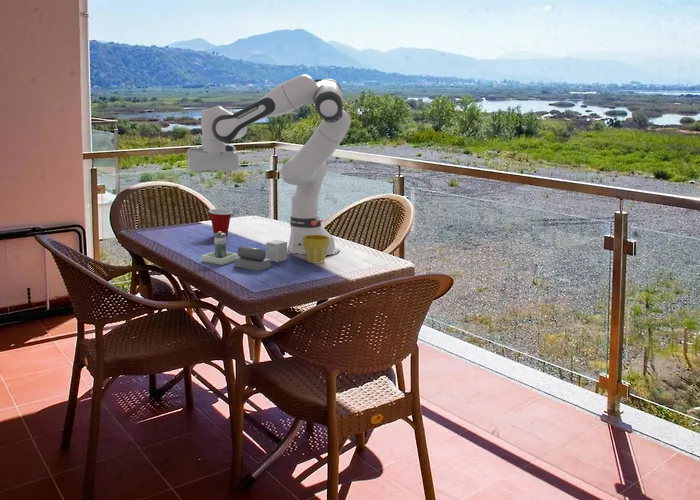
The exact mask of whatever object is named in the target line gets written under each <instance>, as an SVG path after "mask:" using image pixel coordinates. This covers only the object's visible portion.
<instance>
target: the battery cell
mask: <svg viewBox="0 0 700 500" xmlns="http://www.w3.org/2000/svg"><path fill="white" fill-rule="evenodd" d="M213 236H214V237H213V239H214V240H213V241H214V242H213V243H214V244H213V245H214V252H215V257H217V258H224V257H226V252H227V237H226V233H222V232H221V231H219V232H218V233H215V234H214V233H213Z"/></svg>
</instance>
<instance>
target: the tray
mask: <svg viewBox="0 0 700 500" xmlns="http://www.w3.org/2000/svg"><path fill="white" fill-rule="evenodd" d="M238 257H239V256H238V252H237V253H236V252H230V251H226V257H224V258H217V257H215V251H212V252H209V253H205V254H202V255H201V262H202V263H207V264H212V265H213V264H214V265H219V266H223V265H227V264H230V263H234V259H235V258H238Z"/></svg>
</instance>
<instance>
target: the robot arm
mask: <svg viewBox="0 0 700 500" xmlns="http://www.w3.org/2000/svg"><path fill="white" fill-rule="evenodd" d="M343 102H344V95H343V93H342V87H341V85H340V84H339V83H338V82H337V81H336V80H334V79H332V78H323V79H321V78H320V79H315V80H314V78H312V77H311V76H310V75H308V74H302V75H298V76H295V77H293V78H291V79H288V80H285V81H284V82H283V83H280V84H279V85H277V86H276V87H274V88H273V89H271V90H270V91H269V92H268V93H267V94H265V95H264V96H263V97H261V98H259V100H257V101H255V102H253V103H252V104H250V105H249V106H247V107H244V108H242V109H240V110H239V111H237V112H235V113H233V112H231V111H228V110H226V109H225V108H223V107H222V106H221V105H211V106H206V107H204V108H203V109H202V112H201V118H200V119H201V120H200V127H201V132H202V133H201V134H202V135H201V146H197V147H193V146H192V147H190V148H188V149H187V151H186V157H187V158H188V159H187V168H188V170H189V171H191V172H196V174H197V175H198V177H199V182H200V183H205V177H203V176H202V175H201V174H202V171H207V172H208V171H225V172H226V174H225V176H223V178H222V179H223V182H228V179H229V178H228V177H229V176H230V174H231V171H237V170H238V169H239V168H240V163H239V162H240V161H239V156H238V154H237V152H236V150H237V148H236V146H235V145H232V144H229V142H230V141H234V140H239V139H242V138H243V137H245V136H246V134H247V132H248V129H249V128H248V126H250V125H252V124H255V123H256V122H258V121H260V120H263V119H267V118H271V117H279V116H282V115H286V114H290V113H291V112H294V111H296V110H297V109H299V108H301V107H303V106H304V105H309V104H311V105H312V104H313V105H314V109H315V110H316V112H317V114H318V116H320V117H321V118H322V120H321V121H320V122H319V124H318V126H317V127H316V129H315V130H314V131H313V133H312V135H311V136H310V138H308V140H307V141H306V143H304V145H302V146H301V148H299V150H298V151H297V152H296V153H295V154H294V155H293V156H292V157H291V158H290V159H288V160H286V162H284V163H283V165H282V166H281V169H280V175H281V178H282V179H283V181H284V182H285V183H286V184H288V185H293V186H296V188H295V192H294V193H293V194H292V197H291V199H290V200H291V201H290V202H291V204H290V205H291V208H290V209H291V210H290V211H291V216H290V221H289V223H290V236H289V243H288V245H287V251H289V253H290V254H293V253H298V254H297V255H303V254H306V252H305V246H303V237H304V236H306V235H325V236H328V237H329V246H328V247H327V250H326V254H325V255H330V254H333V253H336V252H339V251H340V252H341V249H340V248H339V247H336V246H335V245H336V244H335V239H334V236H333V235H332V234H331V233H330V232H328V231H327V230H326V229H325V228H324V227H323V226H322V223H323V222H324V221H323V220H324V219H323V218H322V219H320V217H319V213H318V212H319V196H320V192H321V187H322V184H323V181H324V178H325V177H326V176H327V173H328V165H327V163H326V161H327V160H328V159H330V158H331V157H332V156H333V154H334V152H335V151H336V150H337V148H338V147H339V145H340V144H341V143H342V141H343V139H344V138H345V136H346V134H347V133H348V131H349V128H350V126H351V124H352V123H351V122H352V119H351V116H350V114H349V113H348V112H347V111H346V110H344V105H343V104H344V103H343ZM340 252H339V253H340ZM336 254H337V253H336ZM330 256H331V255H330Z"/></svg>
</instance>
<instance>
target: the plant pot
mask: <svg viewBox="0 0 700 500" xmlns="http://www.w3.org/2000/svg"><path fill="white" fill-rule="evenodd" d="M303 246H305V252H306V255H305V256H306V261H307V262H308V261H309V262H308V263H311V262H321V261H324V262H325V258H326V256H325V254H326V250H327V247H328V246H329V237H328V236H325V235H306V236H304V237H303ZM321 263H322V262H321Z"/></svg>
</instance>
